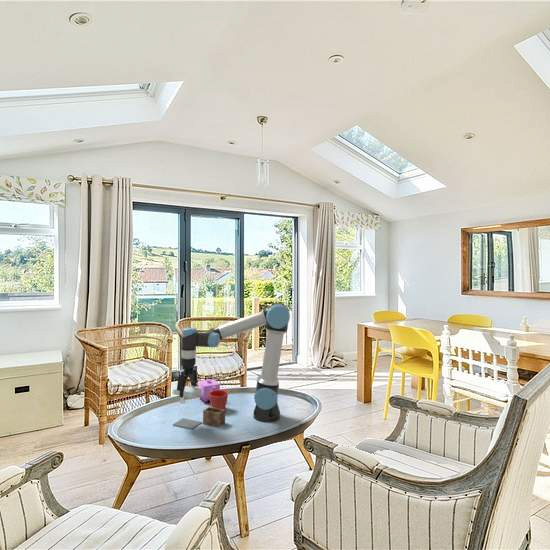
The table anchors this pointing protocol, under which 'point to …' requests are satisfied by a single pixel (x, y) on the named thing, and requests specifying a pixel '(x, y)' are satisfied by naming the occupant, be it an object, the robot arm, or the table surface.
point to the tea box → (214, 416)
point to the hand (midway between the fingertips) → (187, 400)
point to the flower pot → (218, 399)
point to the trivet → (187, 423)
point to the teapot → (207, 388)
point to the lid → (188, 392)
